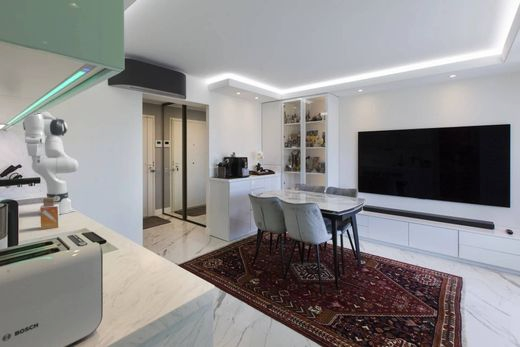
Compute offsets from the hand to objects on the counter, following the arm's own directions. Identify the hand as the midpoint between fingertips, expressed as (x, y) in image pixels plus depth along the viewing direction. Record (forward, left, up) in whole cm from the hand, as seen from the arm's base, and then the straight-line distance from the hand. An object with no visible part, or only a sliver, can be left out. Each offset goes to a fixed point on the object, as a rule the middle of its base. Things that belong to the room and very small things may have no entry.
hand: (36, 163), depth 154 cm
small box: (+8, +6, -37) cm, 39 cm away
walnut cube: (+8, +6, -24) cm, 26 cm away
